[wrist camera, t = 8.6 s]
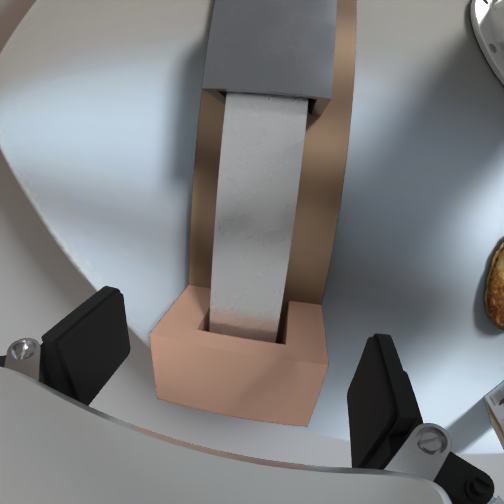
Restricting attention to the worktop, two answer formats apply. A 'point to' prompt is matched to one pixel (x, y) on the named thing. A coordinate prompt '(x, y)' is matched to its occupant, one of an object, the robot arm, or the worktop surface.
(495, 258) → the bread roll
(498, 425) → the coffee box
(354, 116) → the worktop surface
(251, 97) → the light grey bar
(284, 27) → the sleeve
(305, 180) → the base board
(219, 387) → the socket block
